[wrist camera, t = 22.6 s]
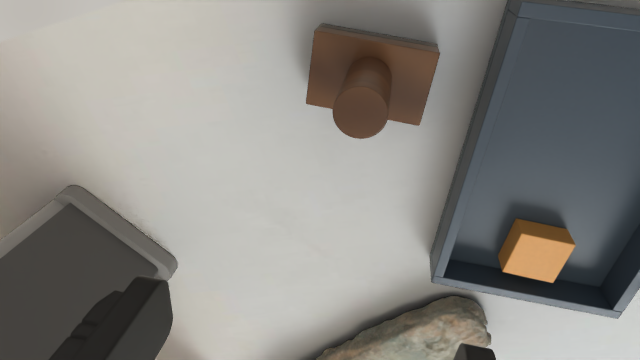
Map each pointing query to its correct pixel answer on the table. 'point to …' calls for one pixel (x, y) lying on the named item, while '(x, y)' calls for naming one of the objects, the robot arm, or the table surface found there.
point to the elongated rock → (419, 334)
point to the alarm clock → (67, 270)
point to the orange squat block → (535, 250)
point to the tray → (552, 157)
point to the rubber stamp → (369, 78)
